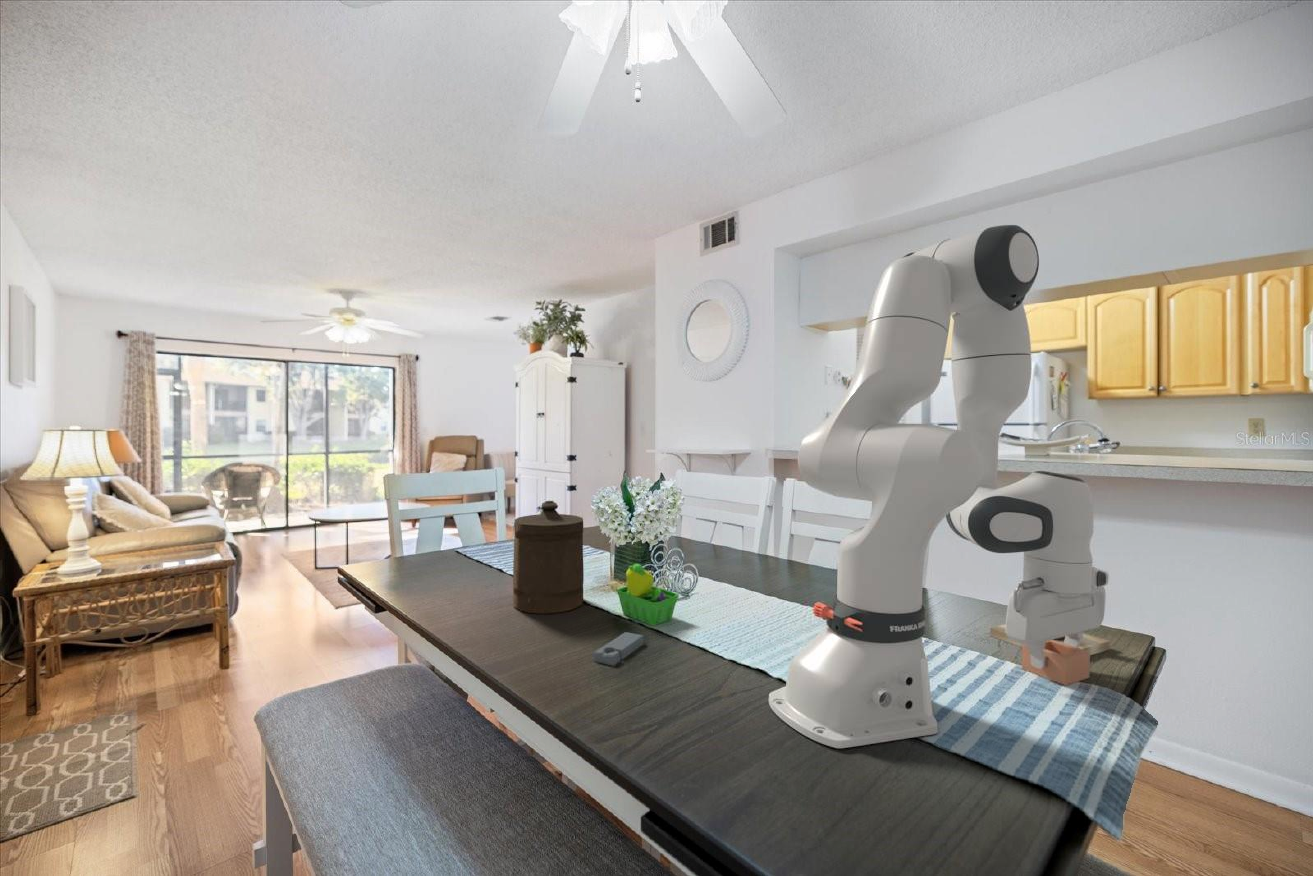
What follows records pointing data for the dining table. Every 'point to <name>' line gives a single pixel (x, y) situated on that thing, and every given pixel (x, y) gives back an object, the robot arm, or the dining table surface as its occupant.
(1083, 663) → the orange square ring
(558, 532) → the wooden container
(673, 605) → the fruit basket
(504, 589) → the dining table surface
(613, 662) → the bracket
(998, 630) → the pin stand
